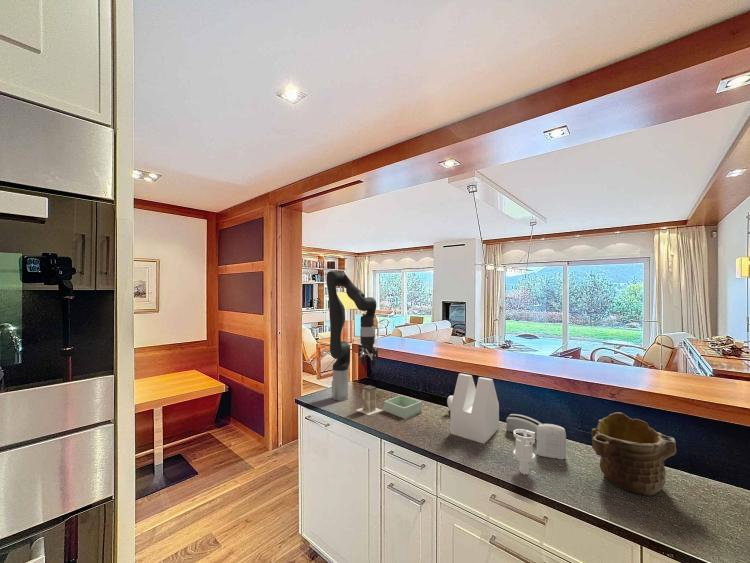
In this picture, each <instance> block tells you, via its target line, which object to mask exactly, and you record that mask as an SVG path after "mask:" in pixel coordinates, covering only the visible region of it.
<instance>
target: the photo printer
mask: <svg viewBox="0 0 750 563" xmlns="http://www.w3.org/2000/svg"><path fill="white" fill-rule="evenodd" d="M566 450H567V434H566V429H565V428H564V427H562V426H561V425H557V424H552V423H542V424H540V425H538V428H537V440H536V455H537V454H538V456H540V457H545V458H551V459H556V458H557V459H558V460H563V459H565V460H566V458H567V457H566V456H567V455H566V454H567V452H566Z"/></svg>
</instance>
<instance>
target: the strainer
mask: <svg viewBox="0 0 750 563" xmlns="http://www.w3.org/2000/svg"><path fill="white" fill-rule="evenodd" d="M512 433H513V437H514V438H515V449H514V450H513V451H512V452H513V453H512V454H513V457H514V458H515V459H516V460H519V461H518V462H519V463H518V464H519V467H518V468H519V471H520V472H521V473H520V472H519V473H520V474H522V473H523V474H522V475H525V474H527V475H529V474H530V472H529V471H530V470H529V469H530V467H529V465H530V464H529V463H532V462H534V461H535V460H536V454H535V453H534V452H533V448H534V447H533V446H534V445H533V444H535V443H536V440H535V432H532V431H529V430H524V429H516V430H514V431H513V432H512ZM516 433H524V436H522V435H519V434H516ZM527 434H529V435H531V436H532V437H527ZM528 473H529V474H528Z"/></svg>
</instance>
